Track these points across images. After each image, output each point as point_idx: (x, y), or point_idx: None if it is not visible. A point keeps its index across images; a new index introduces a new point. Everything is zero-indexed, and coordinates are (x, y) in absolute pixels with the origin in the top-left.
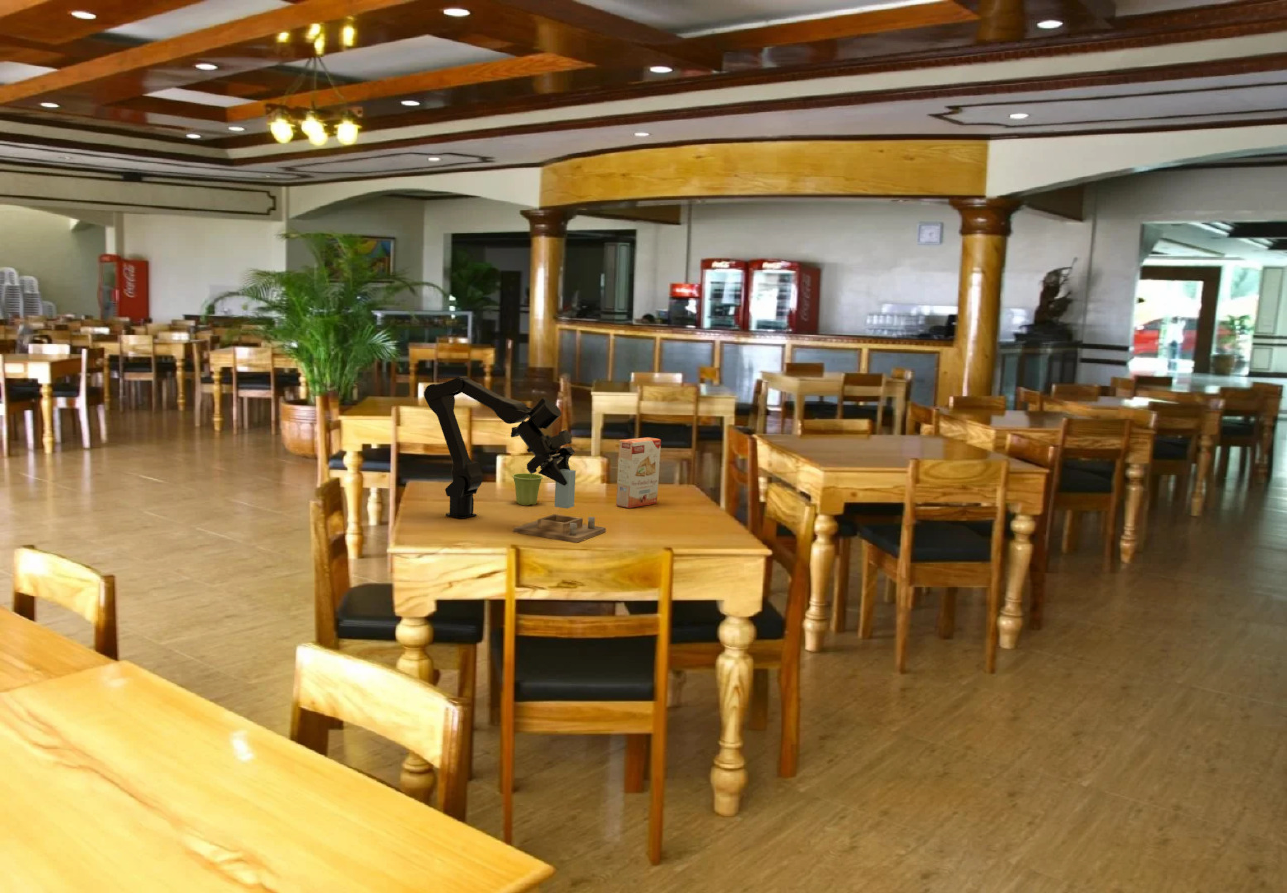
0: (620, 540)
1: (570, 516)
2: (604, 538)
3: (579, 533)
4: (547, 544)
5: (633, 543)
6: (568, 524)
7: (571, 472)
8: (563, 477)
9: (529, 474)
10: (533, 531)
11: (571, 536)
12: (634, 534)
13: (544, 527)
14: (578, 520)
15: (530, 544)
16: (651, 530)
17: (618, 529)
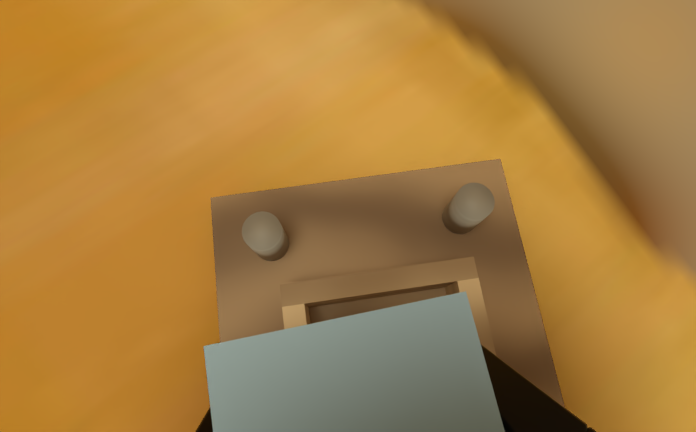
0: (312, 69)
1: None
2: (331, 134)
3: (414, 211)
4: (624, 240)
5: (318, 9)
6: (447, 260)
7: (368, 313)
8: (490, 373)
9: None
10: None
11: (495, 199)
12: (169, 89)
13: None
14: (330, 278)
15: (693, 296)
16: (44, 81)
17: (123, 195)
